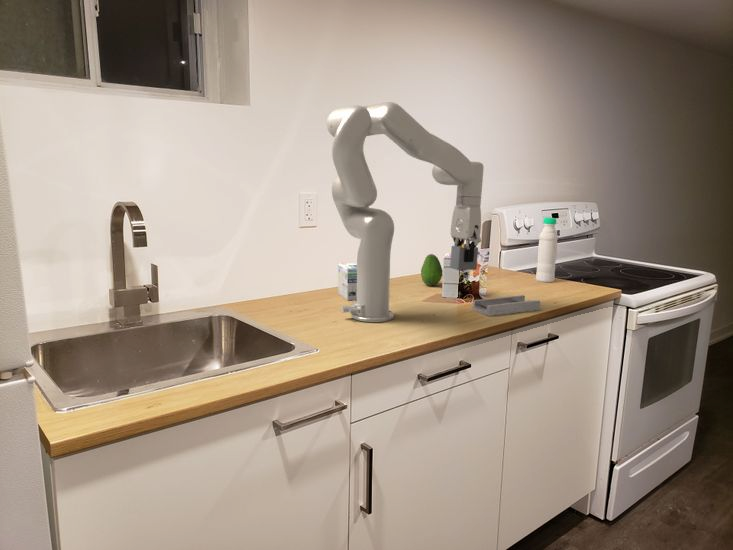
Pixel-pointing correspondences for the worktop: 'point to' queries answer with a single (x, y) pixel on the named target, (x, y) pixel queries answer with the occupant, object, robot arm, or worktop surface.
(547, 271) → the milk bottle
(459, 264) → the block
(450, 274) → the syrup box
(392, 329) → the worktop surface
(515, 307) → the rail
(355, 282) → the light bulb box
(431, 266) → the avocado
